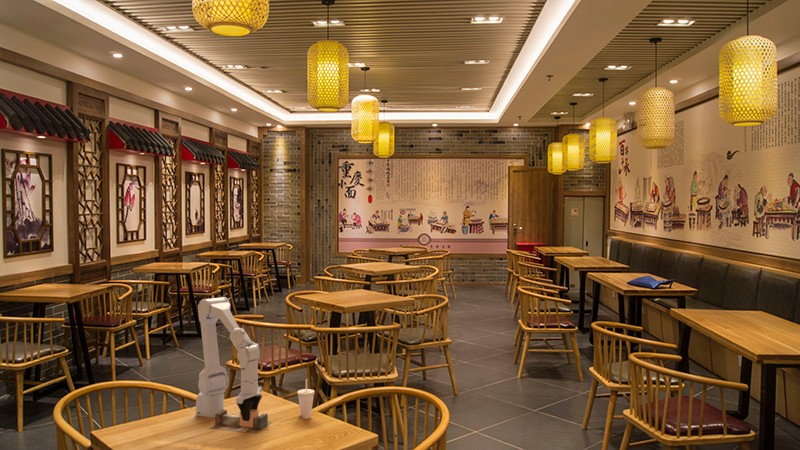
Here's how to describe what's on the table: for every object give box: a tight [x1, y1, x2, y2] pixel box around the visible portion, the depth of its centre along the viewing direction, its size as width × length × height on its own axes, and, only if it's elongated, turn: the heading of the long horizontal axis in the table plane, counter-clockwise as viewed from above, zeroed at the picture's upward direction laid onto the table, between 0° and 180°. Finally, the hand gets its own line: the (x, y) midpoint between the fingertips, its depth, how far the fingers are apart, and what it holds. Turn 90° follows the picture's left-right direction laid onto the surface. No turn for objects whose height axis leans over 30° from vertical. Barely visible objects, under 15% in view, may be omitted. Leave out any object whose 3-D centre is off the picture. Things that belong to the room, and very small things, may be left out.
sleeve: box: [239, 409, 259, 427], centre depth 211 cm, size 5×4×5 cm
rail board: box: [208, 409, 273, 435], centre depth 212 cm, size 18×12×5 cm, turn 75°
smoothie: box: [296, 378, 315, 420], centre depth 224 cm, size 6×6×14 cm
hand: (249, 418), depth 211 cm, fingers closed on sleeve, 4 cm apart
